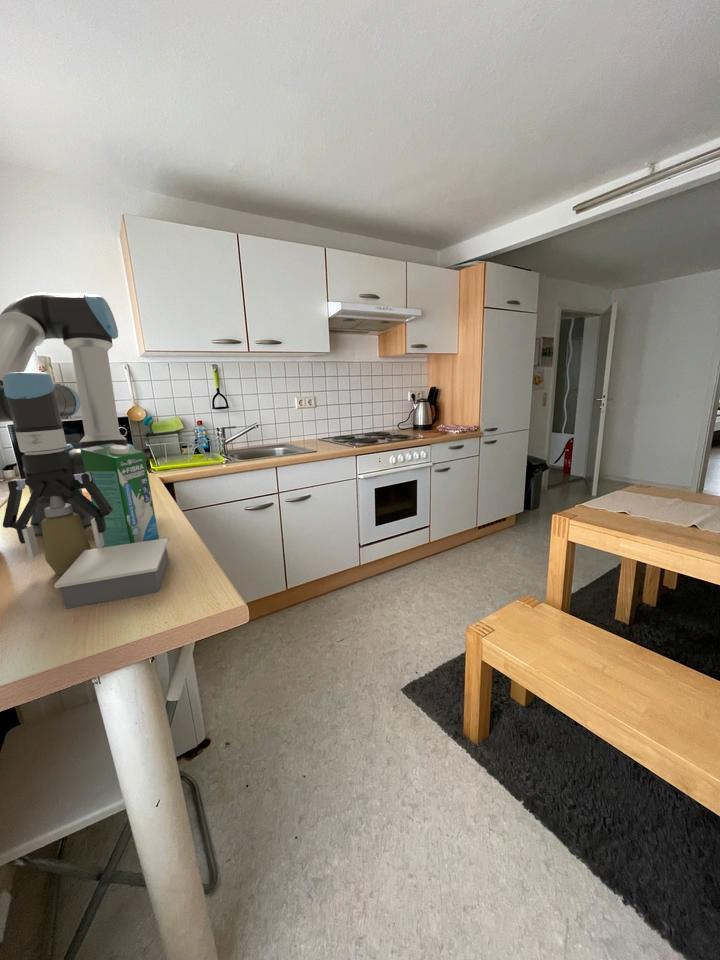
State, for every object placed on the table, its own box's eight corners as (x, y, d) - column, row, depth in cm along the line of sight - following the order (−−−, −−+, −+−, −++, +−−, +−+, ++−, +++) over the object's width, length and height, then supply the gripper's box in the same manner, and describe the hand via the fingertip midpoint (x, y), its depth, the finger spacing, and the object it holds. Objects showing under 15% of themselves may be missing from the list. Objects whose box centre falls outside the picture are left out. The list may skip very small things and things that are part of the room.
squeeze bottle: (79, 559, 90) (62, 484, 85) (103, 564, 87) (86, 486, 82) (40, 575, 82) (19, 493, 78) (64, 581, 79) (44, 496, 75)
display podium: (89, 571, 83) (84, 550, 82) (171, 558, 88) (167, 538, 87) (60, 610, 68) (54, 585, 67) (160, 592, 73) (156, 568, 72)
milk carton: (133, 551, 93) (113, 448, 87) (101, 549, 95) (79, 448, 89) (159, 536, 102) (142, 442, 96) (129, 535, 104) (111, 442, 98)
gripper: (-41, 460, 71) (-10, 569, 76) (106, 448, 79) (126, 548, 84) (-18, 454, 78) (10, 554, 83) (116, 444, 85) (134, 536, 91)
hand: (68, 551), depth 83 cm, fingers open, 11 cm apart
